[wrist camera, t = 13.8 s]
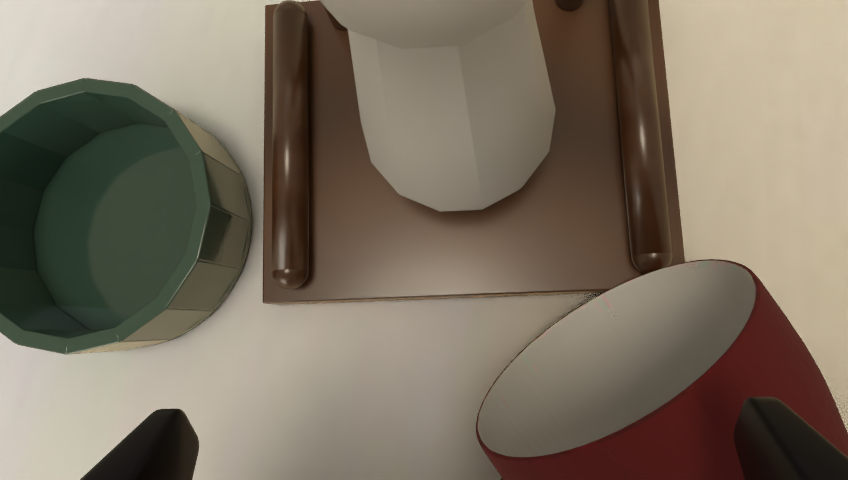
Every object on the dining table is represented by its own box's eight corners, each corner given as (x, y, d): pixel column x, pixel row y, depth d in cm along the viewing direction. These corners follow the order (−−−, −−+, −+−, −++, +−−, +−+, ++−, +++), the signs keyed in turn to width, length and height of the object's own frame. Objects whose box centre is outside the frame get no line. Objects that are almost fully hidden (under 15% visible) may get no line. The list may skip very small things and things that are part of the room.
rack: (672, 290, 20) (753, 275, 14) (277, 304, 21) (197, 297, 15) (644, -7, 21) (705, -133, 15) (279, 25, 23) (206, -80, 17)
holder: (297, 189, 22) (261, 163, 18) (163, 395, 21) (100, 408, 18) (117, 77, 23) (53, 33, 20) (-13, 266, 22) (-103, 256, 19)
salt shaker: (444, 31, 20) (372, -467, 8) (580, 120, 19) (765, -281, 7) (344, 163, 20) (92, -124, 7) (477, 259, 19) (460, 126, 6)
